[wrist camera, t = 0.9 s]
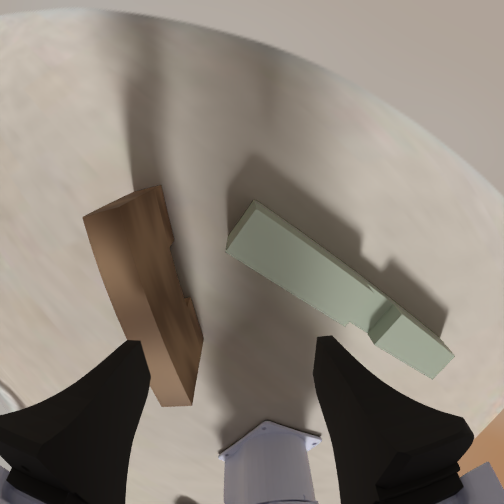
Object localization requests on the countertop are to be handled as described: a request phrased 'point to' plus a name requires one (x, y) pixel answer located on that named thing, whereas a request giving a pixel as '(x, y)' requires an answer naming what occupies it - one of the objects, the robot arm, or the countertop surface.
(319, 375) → the robot arm
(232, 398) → the countertop surface
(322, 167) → the countertop surface
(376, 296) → the slotted rail
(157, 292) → the walnut plate
